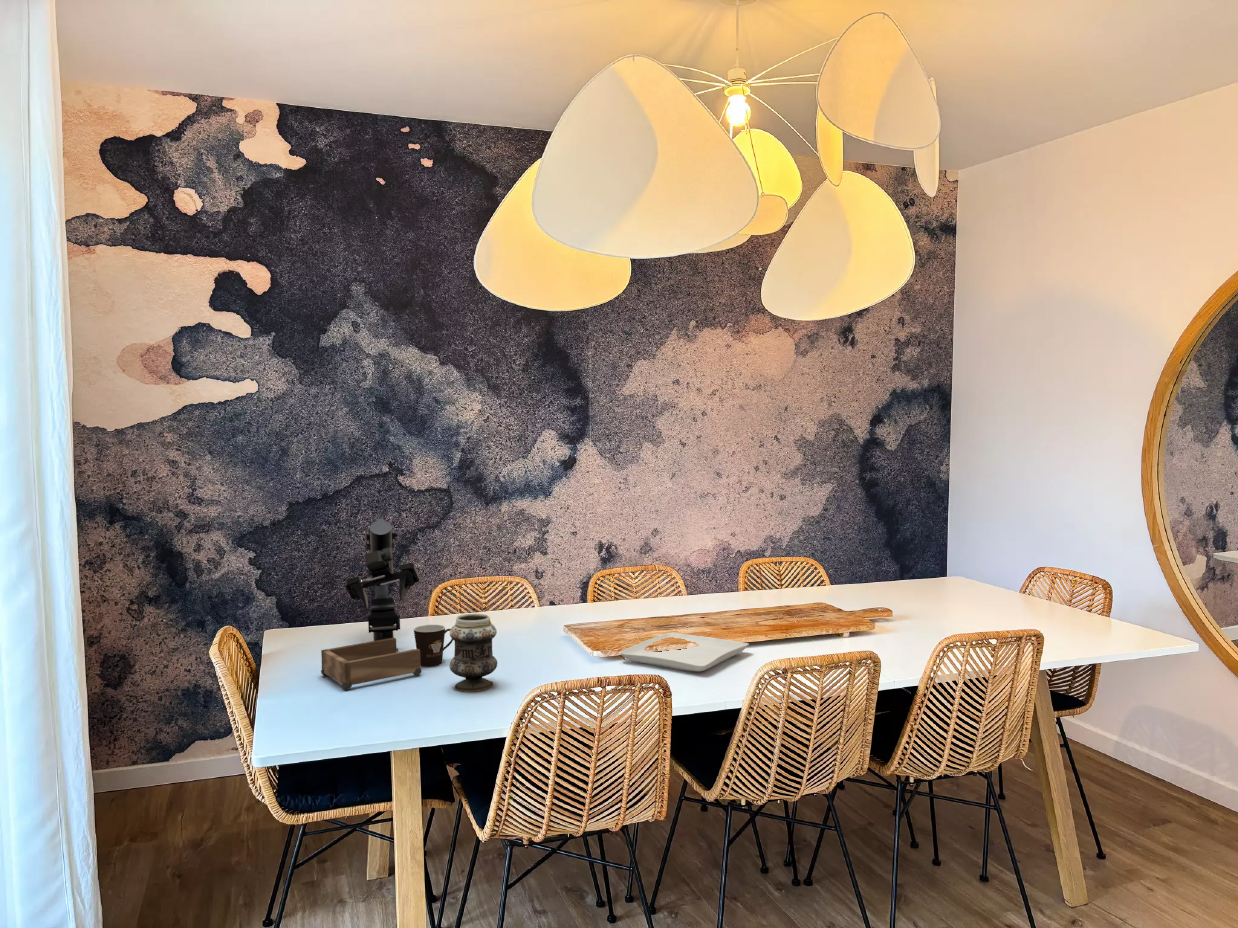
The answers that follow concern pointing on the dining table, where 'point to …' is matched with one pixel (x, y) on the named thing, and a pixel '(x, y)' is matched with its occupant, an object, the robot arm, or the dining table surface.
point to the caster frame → (369, 662)
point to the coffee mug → (430, 644)
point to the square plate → (686, 652)
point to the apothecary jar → (473, 651)
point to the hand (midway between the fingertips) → (383, 603)
